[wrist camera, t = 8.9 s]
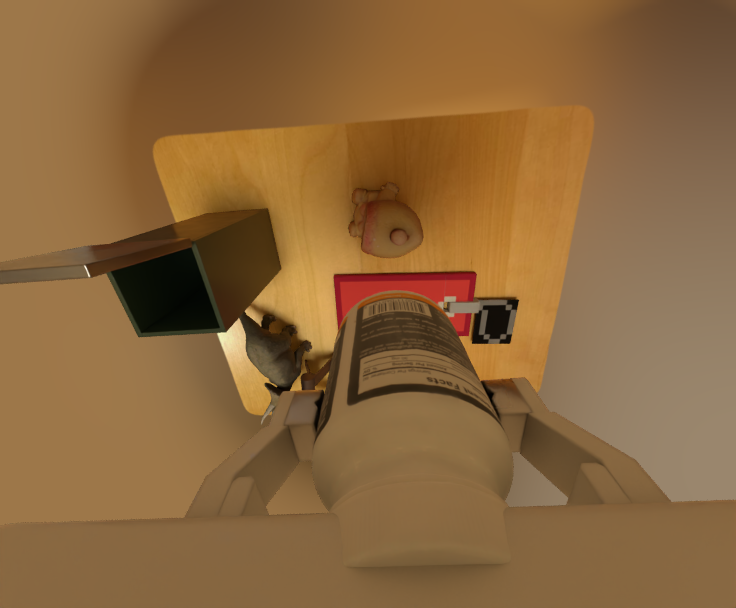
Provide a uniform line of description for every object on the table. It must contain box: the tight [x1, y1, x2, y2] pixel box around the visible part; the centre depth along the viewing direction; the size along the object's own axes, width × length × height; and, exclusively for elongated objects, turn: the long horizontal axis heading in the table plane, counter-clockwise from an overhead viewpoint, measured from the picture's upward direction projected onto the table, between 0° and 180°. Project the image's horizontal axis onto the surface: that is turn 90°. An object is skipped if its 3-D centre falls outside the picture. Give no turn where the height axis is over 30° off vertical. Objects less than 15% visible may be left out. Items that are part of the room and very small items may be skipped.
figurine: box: [348, 182, 423, 258], centre depth 38 cm, size 10×8×15 cm
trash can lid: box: [0, 238, 192, 284], centre depth 21 cm, size 10×10×1 cm
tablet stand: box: [301, 358, 332, 390], centre depth 53 cm, size 9×8×8 cm
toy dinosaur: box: [239, 312, 312, 424], centre depth 48 cm, size 22×8×11 cm, turn 13°
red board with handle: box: [334, 272, 519, 344], centre depth 49 cm, size 30×3×15 cm
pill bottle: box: [312, 290, 514, 568], centre depth 10 cm, size 6×6×10 cm
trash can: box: [106, 208, 281, 337], centre depth 37 cm, size 10×10×20 cm
